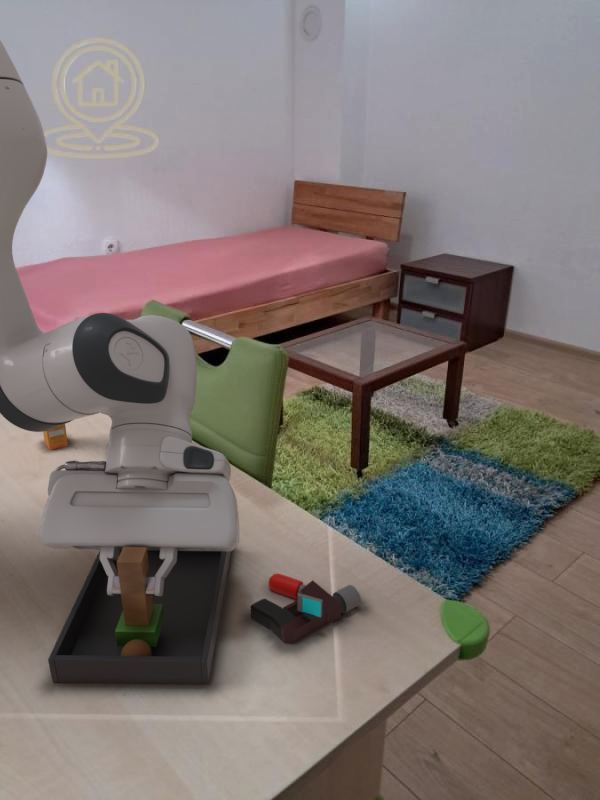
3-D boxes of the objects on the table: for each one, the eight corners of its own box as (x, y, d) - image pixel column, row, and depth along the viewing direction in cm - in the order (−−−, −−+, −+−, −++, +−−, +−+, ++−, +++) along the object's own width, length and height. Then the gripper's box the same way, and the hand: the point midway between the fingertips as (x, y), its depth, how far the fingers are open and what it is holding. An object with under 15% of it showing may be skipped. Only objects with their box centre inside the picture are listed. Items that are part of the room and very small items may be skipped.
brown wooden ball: (114, 662, 61) (121, 633, 63) (121, 677, 63) (126, 649, 65) (146, 661, 61) (151, 632, 63) (151, 677, 63) (156, 648, 65)
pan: (53, 687, 62) (47, 659, 60) (113, 550, 81) (110, 527, 80) (208, 688, 62) (206, 661, 60) (231, 552, 81) (230, 529, 79)
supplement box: (70, 445, 107) (62, 391, 103) (49, 451, 105) (40, 396, 101) (65, 438, 109) (56, 384, 105) (44, 443, 107) (34, 389, 103)
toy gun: (370, 607, 72) (372, 573, 70) (286, 657, 65) (286, 621, 63) (316, 564, 79) (316, 532, 77) (235, 605, 72) (233, 571, 70)
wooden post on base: (117, 646, 64) (105, 567, 60) (127, 617, 68) (117, 541, 64) (156, 646, 64) (147, 567, 60) (164, 618, 68) (156, 542, 64)
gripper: (41, 452, 65) (18, 591, 60) (239, 455, 65) (232, 595, 60) (62, 468, 71) (43, 596, 66) (244, 470, 71) (238, 599, 66)
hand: (135, 595), depth 63 cm, fingers closed on wooden post on base, 2 cm apart
